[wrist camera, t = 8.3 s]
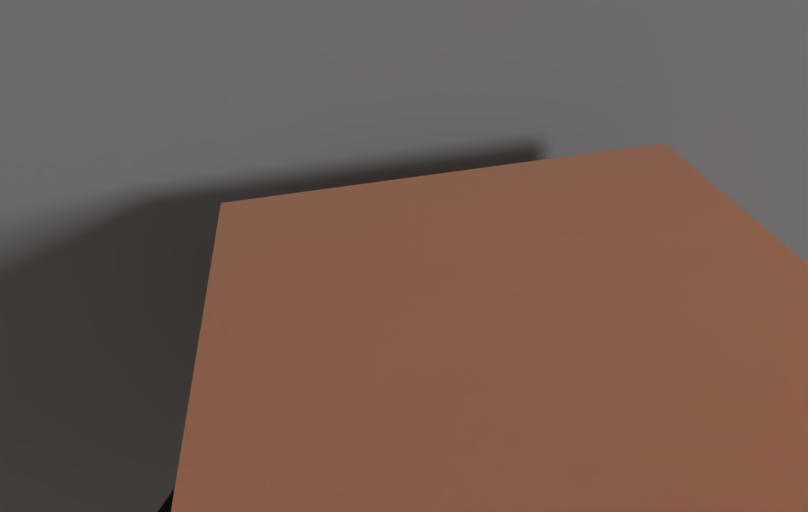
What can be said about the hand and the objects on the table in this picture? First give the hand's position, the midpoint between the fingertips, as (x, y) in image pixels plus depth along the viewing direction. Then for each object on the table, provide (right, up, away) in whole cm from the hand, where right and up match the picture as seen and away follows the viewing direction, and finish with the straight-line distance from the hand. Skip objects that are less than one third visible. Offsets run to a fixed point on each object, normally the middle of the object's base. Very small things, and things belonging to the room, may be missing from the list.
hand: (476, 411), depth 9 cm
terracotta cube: (0, +1, +1) cm, 1 cm away
